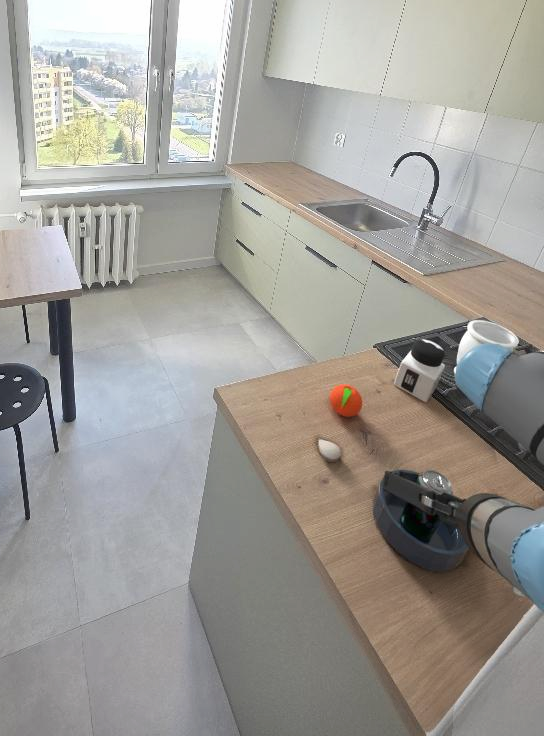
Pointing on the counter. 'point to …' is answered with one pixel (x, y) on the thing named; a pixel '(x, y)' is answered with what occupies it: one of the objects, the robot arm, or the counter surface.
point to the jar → (485, 337)
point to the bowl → (427, 553)
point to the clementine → (346, 400)
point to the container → (421, 369)
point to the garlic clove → (329, 450)
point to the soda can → (418, 518)
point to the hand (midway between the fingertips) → (447, 502)
